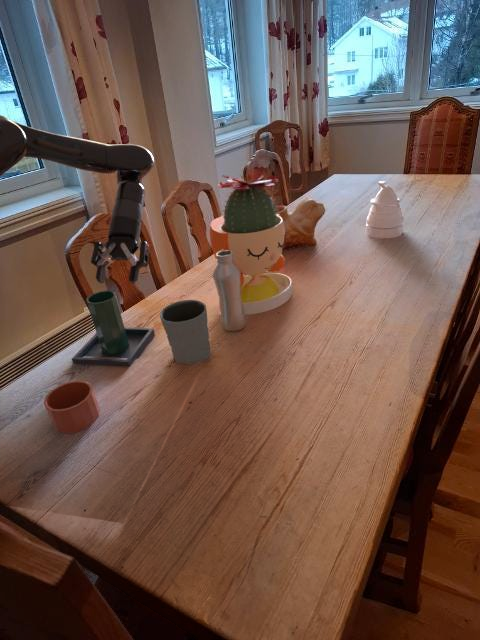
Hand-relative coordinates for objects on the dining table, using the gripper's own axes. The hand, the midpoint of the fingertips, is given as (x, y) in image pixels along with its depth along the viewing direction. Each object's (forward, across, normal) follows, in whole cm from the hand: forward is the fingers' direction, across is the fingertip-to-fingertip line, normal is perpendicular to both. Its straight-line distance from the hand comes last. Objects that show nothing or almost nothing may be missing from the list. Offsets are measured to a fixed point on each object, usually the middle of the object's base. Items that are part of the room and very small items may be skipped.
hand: (116, 282), depth 104 cm
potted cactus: (-6, +28, +26) cm, 39 cm away
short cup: (+33, +4, -12) cm, 35 cm away
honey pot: (-42, +67, +63) cm, 101 cm away
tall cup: (+15, 0, +5) cm, 16 cm away
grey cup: (+16, +20, +4) cm, 26 cm away
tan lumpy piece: (-36, +34, +57) cm, 75 cm away
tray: (+16, 0, +5) cm, 16 cm away
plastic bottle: (+7, +27, +14) cm, 31 cm away
